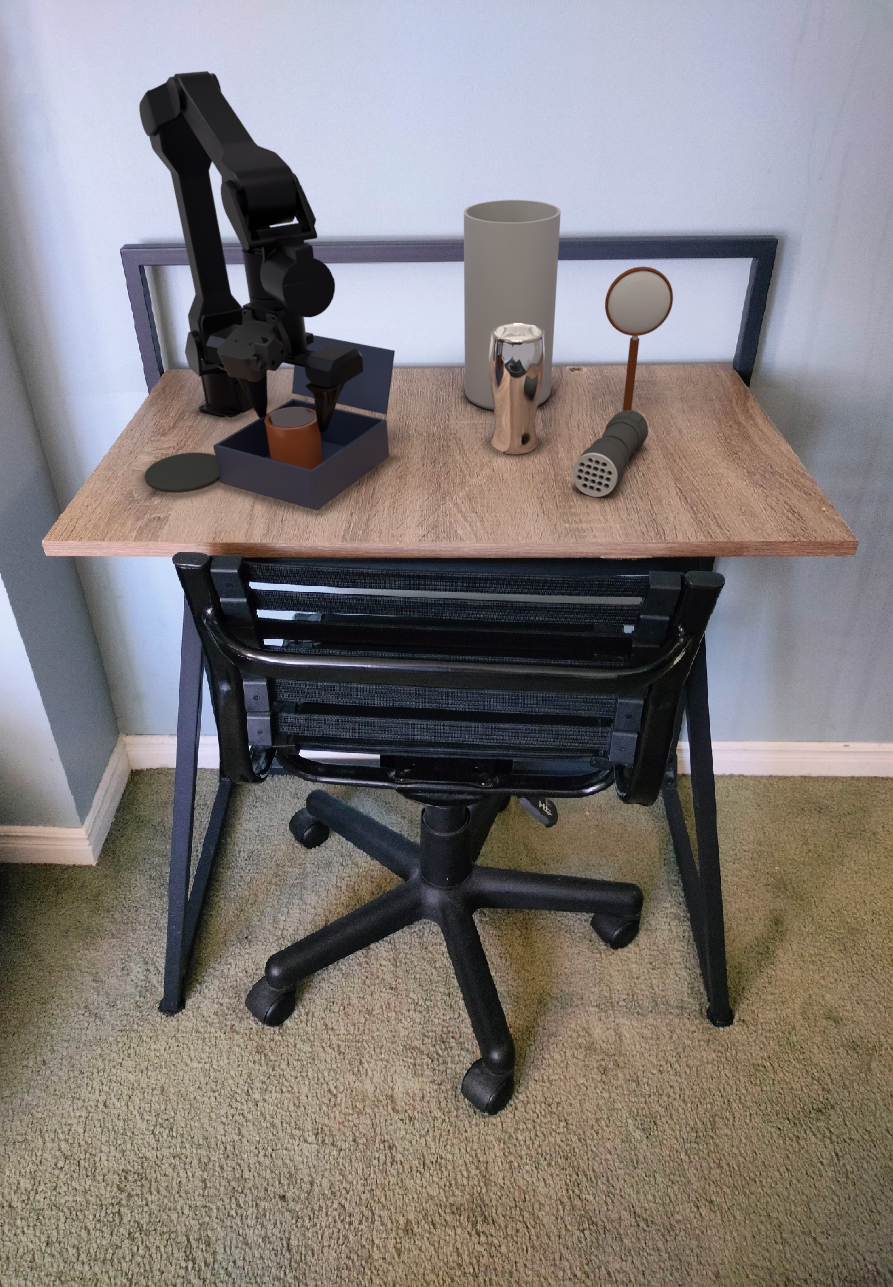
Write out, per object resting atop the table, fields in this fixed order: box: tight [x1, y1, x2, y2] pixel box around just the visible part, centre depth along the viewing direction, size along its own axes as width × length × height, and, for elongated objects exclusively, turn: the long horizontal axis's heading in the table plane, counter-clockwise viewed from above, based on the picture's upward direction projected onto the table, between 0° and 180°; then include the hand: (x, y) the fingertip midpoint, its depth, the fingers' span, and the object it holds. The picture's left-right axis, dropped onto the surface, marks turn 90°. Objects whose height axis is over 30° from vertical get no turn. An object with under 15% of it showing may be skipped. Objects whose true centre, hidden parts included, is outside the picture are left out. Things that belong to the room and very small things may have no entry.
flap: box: [291, 334, 396, 415], centre depth 114 cm, size 8×15×1 cm
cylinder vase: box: [463, 199, 561, 411], centre depth 123 cm, size 12×12×25 cm
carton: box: [213, 398, 390, 511], centre depth 112 cm, size 16×15×5 cm
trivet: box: [144, 452, 220, 494], centre depth 113 cm, size 10×10×1 cm
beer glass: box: [489, 323, 545, 456], centre depth 114 cm, size 7×7×15 cm
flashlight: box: [571, 409, 649, 498], centre depth 111 cm, size 15×5×5 cm, turn 154°
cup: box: [265, 407, 324, 470], centre depth 110 cm, size 6×6×8 cm
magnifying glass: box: [604, 266, 674, 411], centre depth 118 cm, size 9×2×20 cm, turn 88°
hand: (292, 424), depth 108 cm, fingers open, 9 cm apart
